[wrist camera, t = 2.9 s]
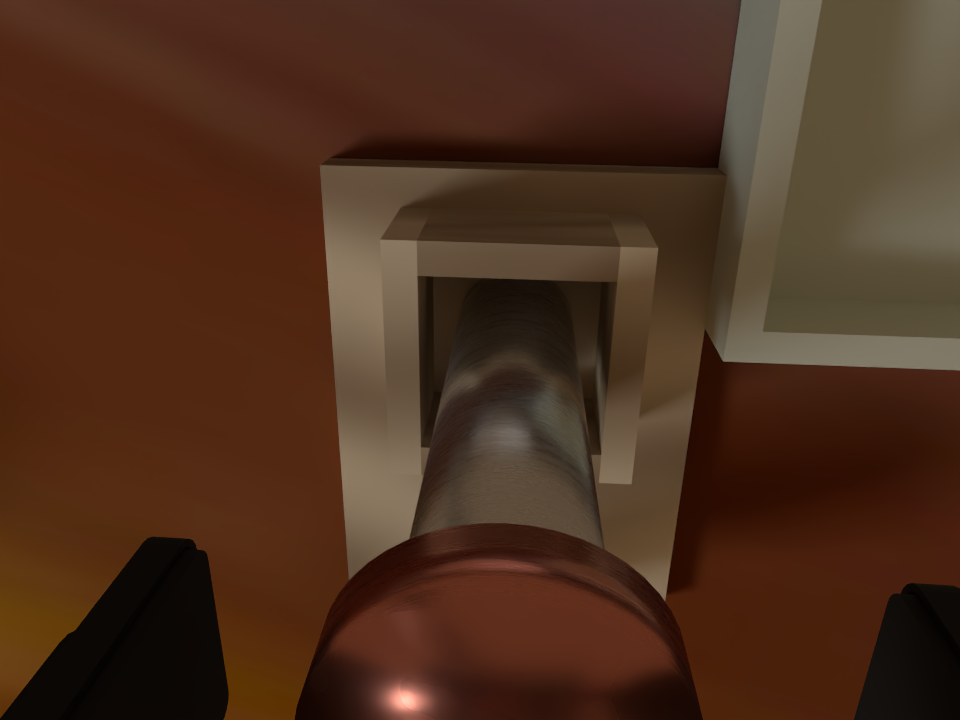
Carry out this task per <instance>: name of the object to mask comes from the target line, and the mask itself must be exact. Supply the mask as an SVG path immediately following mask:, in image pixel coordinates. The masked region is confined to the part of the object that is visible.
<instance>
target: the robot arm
mask: <svg viewBox="0 0 960 720" xmlns="http://www.w3.org/2000/svg"><path fill="white" fill-rule="evenodd" d="M228 695H229V694H228V685H227V678H226V672H225V665H224V659H223V652H222V646H221V639H220V633H219V627H218V620H217V614H216V607H215V601H214V594H213V588H212V581H211V575H210V568H209V562H208V557H207V554H206V552H205V551H203V550H197V548H196V545H195V543H194V542H193V540H190V539H182V538H166V537H150V538H148V539H147V540H145V541H144V542H143V544H142V545H141V546H140V547H139V549H138V550H137V551H136V553H135V554H134V555H133V557H132V558H131V559H130V560H129V562H128V563H127V564H126V566H125V567H124V568H123V569H122V571H121V572H120V573H119V575H118V576H117V577H116V578H115V580H114V581H113V582H112V584H111V585H110V586H109V588H108V589H107V590H106V591H105V593H104V594H103V595H102V597H101V598H100V599H99V600H98V602H97V603H96V604H95V606H94V607H93V608H92V610H91V611H90V612H89V613H88V615H87V616H86V617H85V619H84V620H83V621H82V622H81V624H80V625H79V626H78V628H77V629H76V630H75V631H73V632H71V633H69V634H68V635H67V636H66V637H65V638H64V639H63V640H62V641H61V642H60V643H59V644H58V646H57V647H56V648H55V649H54V651H53V652H52V653H51V654H50V656H49V657H48V658H47V660H46V661H45V662H44V663H43V665H42V666H41V667H40V669H39V670H38V671H37V672H36V674H35V675H34V676H33V677H32V679H31V680H30V681H29V683H28V684H27V685H26V686H25V688H24V689H23V690H22V691H21V693H20V694H19V695H18V697H17V698H16V699H15V700H14V702H13V703H12V704H11V706H10V707H9V708H8V709H7V711H6V712H5V713H4V714H3V716H2V717H1V718H0V720H223V719H224V717H225V713H226V710H227V705H228ZM854 720H960V589H959V588H958V587H955V586H949V585H932V584H916V583H911V584H907V585H906V586H905V587H904V588H903V590H902V592H901V594H897V593H896V594H893V595H892V596H891V597H890V598H889V601H888V603H887V607H886V610H885V614H884V617H883V621H882V624H881V628H880V631H879V635H878V638H877V642H876V645H875V649H874V652H873V656H872V659H871V663H870V666H869V670H868V673H867V676H866V680H865V683H864V687H863V690H862V694H861V697H860V701H859V704H858V708H857V711H856V715H855V718H854Z"/></svg>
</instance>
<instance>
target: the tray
mask: <svg viewBox="0 0 960 720" xmlns="http://www.w3.org/2000/svg"><path fill="white" fill-rule="evenodd" d="M718 168H719V169H720V170H721V171H722V172H723V173H725V174H726V175H727V181H726V188H725V194H724V201H723V208H722V215H721V222H720V229H719V235H718V242H717V249H716V256H715V263H714V270H713V276H712V283H711V290H710V297H709V304H708V311H707V317H706V324H705V330H706V331H707V333H708V335H709V337H710V339H711V340H712V342H713V344H714V346H715V348H716V350H717V351H718V353H719V355H720V357H721V359H722V360H723V361H724V362H751V363H778V364H805V365H832V366H860V367H887V368H914V369H941V370H960V0H742V2H741V9H740V16H739V23H738V30H737V37H736V44H735V51H734V58H733V65H732V73H731V80H730V87H729V94H728V101H727V108H726V115H725V122H724V129H723V136H722V144H721V151H720V158H719V165H718Z"/></svg>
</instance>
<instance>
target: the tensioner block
mask: <svg viewBox="0 0 960 720" xmlns="http://www.w3.org/2000/svg"><path fill="white" fill-rule="evenodd" d="M320 174H321V188H322V202H323V216H324V230H325V245H326V259H327V273H328V287H329V301H330V316H331V330H332V344H333V358H334V372H335V387H336V401H337V415H338V429H339V443H340V458H341V472H342V486H343V500H344V514H345V528H346V543H347V557H348V571H349V580H350V579H351V578H352V577H353V576H354V575H355V574H356V573H357V572H358V571H359V570H360V569H362V568H363V567H364V566H365V565H366V564H367V563H368V562H370V561H371V560H373V559H374V558H376V557H377V556H379V555H380V554H382V553H383V552H384V551H386V550H388V549H390V548H392V547H394V546H396V545H398V544H400V543H402V542H404V541H406V540H409V538H410V533H411V529H412V524H413V520H414V515H415V511H416V507H417V502H418V498H419V493H420V489H421V484H422V480H423V475H424V471H425V467H426V462H427V458H428V453H429V449H430V444H431V440H432V436H433V431H434V427H435V422H436V418H437V413H438V409H439V404H440V400H441V396H442V391H443V387H444V382H445V378H446V373H447V369H448V364H449V360H450V356H451V351H452V347H453V342H454V338H455V333H456V329H457V325H458V320H459V316H460V311H461V307H462V304H463V301H464V299H465V297H466V295H467V293H468V292H469V291H470V289H471V288H472V287H473V286H474V285H475V284H476V283H477V282H478V281H479V280H481V279H482V278H497V279H528V280H552V281H553V282H554V283H555V284H557V285H558V287H559V288H560V289H561V290H562V291H563V293H564V295H565V296H566V298H567V300H568V302H569V305H570V309H571V314H572V321H573V328H574V335H575V342H576V350H577V357H578V364H579V371H580V378H581V385H582V392H583V399H584V407H585V414H586V421H587V428H588V435H589V442H590V449H591V456H592V464H593V471H594V478H595V485H596V492H597V499H598V506H599V513H600V521H601V528H602V535H603V542H604V549H605V550H607V551H608V552H610V553H612V554H613V555H615V556H616V557H618V558H620V559H621V560H623V561H624V562H626V563H627V564H629V565H630V566H631V567H632V568H634V569H635V570H636V571H637V572H638V573H640V574H641V575H642V576H643V577H645V578H646V580H647V581H648V582H649V583H650V584H651V585H652V586H653V587H654V588H655V589H656V590H657V591H658V592H659V593H660V595H661V596H662V598H663V599H664V601H665V598H666V591H667V584H668V577H669V570H670V564H671V557H672V550H673V543H674V536H675V529H676V523H677V516H678V509H679V502H680V495H681V488H682V482H683V475H684V468H685V461H686V454H687V447H688V441H689V434H690V427H691V420H692V413H693V406H694V399H695V393H696V386H697V379H698V372H699V365H700V358H701V352H702V345H703V338H704V331H705V324H706V317H707V311H708V304H709V297H710V290H711V283H712V276H713V270H714V263H715V256H716V249H717V242H718V235H719V229H720V222H721V215H722V208H723V201H724V194H725V188H726V181H727V175H726V174H725V173H723V172H722V171H721V170H720V169H719V168H697V167H658V166H618V165H579V164H539V163H500V162H460V161H421V160H381V159H342V158H329V159H328V160H326V161H325V162H324V163H322V164H321V165H320Z"/></svg>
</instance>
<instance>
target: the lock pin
mask: <svg viewBox="0 0 960 720" xmlns="http://www.w3.org/2000/svg"><path fill="white" fill-rule="evenodd" d="M295 720H703V718H702V714H701V710H700V706H699V702H698V698H697V694H696V689H695V685H694V681H693V677H692V673H691V669H690V665H689V661H688V657H687V653H686V649H685V645H684V641H683V638H682V634H681V631H680V628H679V626H678V624H677V622H676V619H675V617H674V615H673V613H672V611H671V609H670V608H669V607H668V605H667V604H666V602H665V601H664V599H663V598H662V596H661V595H660V593H659V592H658V591H657V590H656V589H655V588H654V587H653V586H652V585H651V584H650V583H649V582H648V581H647V580H646V578H645V577H643V576H642V575H641V574H640V573H638V572H637V571H636V570H635V569H634V568H632V567H631V566H630V565H629V564H627V563H626V562H624V561H623V560H621V559H620V558H618V557H616V556H615V555H613V554H612V553H610V552H608V551H607V550H605V549H604V542H603V535H602V528H601V521H600V513H599V506H598V499H597V492H596V485H595V478H594V471H593V464H592V456H591V449H590V442H589V435H588V428H587V421H586V414H585V407H584V399H583V392H582V385H581V378H580V371H579V364H578V357H577V350H576V342H575V335H574V328H573V321H572V314H571V309H570V305H569V302H568V300H567V298H566V296H565V295H564V293H563V291H562V290H561V289H560V288H559V287H558V285H557V284H555V283H554V282H553V281H552V280H528V279H497V278H482V279H481V280H479V281H478V282H477V283H476V284H475V285H474V286H473V287H472V288H471V289H470V291H469V292H468V293H467V295H466V297H465V299H464V301H463V304H462V307H461V311H460V316H459V320H458V325H457V329H456V333H455V338H454V342H453V347H452V351H451V356H450V360H449V364H448V369H447V373H446V378H445V382H444V387H443V391H442V396H441V400H440V404H439V409H438V413H437V418H436V422H435V427H434V431H433V436H432V440H431V444H430V449H429V453H428V458H427V462H426V467H425V471H424V475H423V480H422V484H421V489H420V493H419V498H418V502H417V507H416V511H415V515H414V520H413V524H412V529H411V533H410V538H409V540H406V541H404V542H402V543H400V544H398V545H396V546H394V547H392V548H390V549H388V550H386V551H384V552H383V553H382V554H380V555H379V556H377V557H376V558H374V559H373V560H371V561H370V562H368V563H367V564H366V565H365V566H364V567H363V568H362V569H360V570H359V571H358V572H357V573H356V574H355V575H354V576H353V577H352V578H351V579H350V580H349V581H348V583H347V584H346V585H345V586H344V588H343V589H342V590H341V591H340V593H339V594H338V596H337V598H336V599H335V601H334V603H333V605H332V606H331V608H330V610H329V613H328V615H327V618H326V621H325V624H324V627H323V630H322V633H321V636H320V639H319V642H318V645H317V648H316V651H315V654H314V657H313V660H312V663H311V666H310V669H309V672H308V675H307V678H306V681H305V684H304V687H303V690H302V693H301V696H300V699H299V702H298V705H297V709H296V715H295Z"/></svg>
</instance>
